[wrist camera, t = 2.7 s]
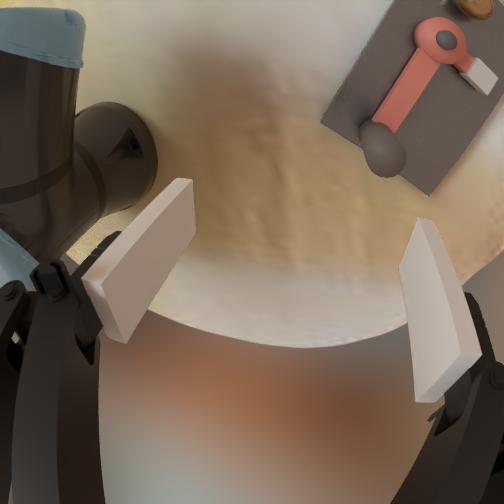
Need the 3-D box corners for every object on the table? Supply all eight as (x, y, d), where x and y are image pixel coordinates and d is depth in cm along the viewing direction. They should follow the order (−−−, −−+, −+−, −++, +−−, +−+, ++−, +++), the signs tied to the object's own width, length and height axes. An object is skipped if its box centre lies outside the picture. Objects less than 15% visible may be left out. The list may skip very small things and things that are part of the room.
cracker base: (425, 190, 29) (438, 214, 25) (320, 119, 28) (319, 132, 24) (530, 30, 13) (558, 32, 9) (430, -57, 12) (446, -73, 8)
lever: (414, 181, 27) (432, 215, 22) (347, 135, 27) (351, 158, 21) (492, 68, 18) (530, 78, 12) (426, 10, 17) (453, 0, 11)
